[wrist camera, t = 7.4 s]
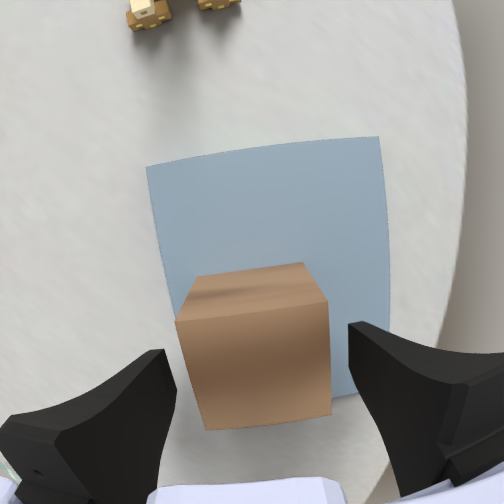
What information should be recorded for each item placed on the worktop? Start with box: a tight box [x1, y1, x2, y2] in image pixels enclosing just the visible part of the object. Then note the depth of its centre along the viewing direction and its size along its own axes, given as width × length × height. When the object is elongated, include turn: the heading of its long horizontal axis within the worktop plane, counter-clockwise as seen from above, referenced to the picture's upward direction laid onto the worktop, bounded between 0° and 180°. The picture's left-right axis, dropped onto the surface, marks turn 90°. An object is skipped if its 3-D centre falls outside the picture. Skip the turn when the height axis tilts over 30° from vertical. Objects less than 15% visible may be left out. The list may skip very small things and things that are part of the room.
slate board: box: [146, 136, 390, 399], centre depth 16 cm, size 14×11×1 cm
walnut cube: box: [174, 262, 332, 430], centre depth 13 cm, size 5×5×5 cm
